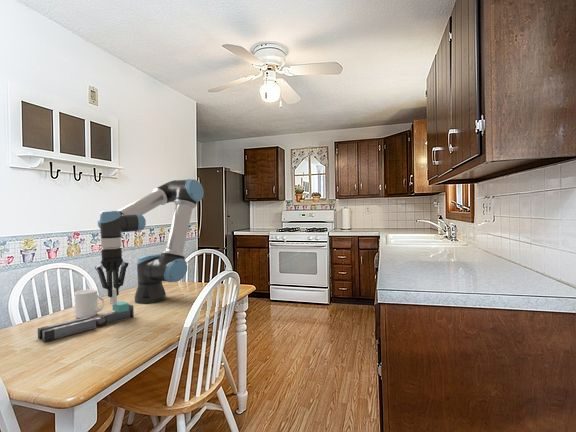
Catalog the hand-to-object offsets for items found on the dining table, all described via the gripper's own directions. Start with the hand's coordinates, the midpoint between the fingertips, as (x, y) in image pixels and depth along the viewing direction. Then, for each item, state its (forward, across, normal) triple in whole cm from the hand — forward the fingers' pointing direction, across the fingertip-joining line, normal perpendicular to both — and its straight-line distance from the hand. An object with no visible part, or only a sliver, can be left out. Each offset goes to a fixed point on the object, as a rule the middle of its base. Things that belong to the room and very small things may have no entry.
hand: (113, 304), depth 142 cm
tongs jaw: (+7, +17, +3) cm, 19 cm away
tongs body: (+7, +9, -1) cm, 12 cm away
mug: (+8, +3, -17) cm, 19 cm away
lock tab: (+3, -3, 0) cm, 4 cm away
